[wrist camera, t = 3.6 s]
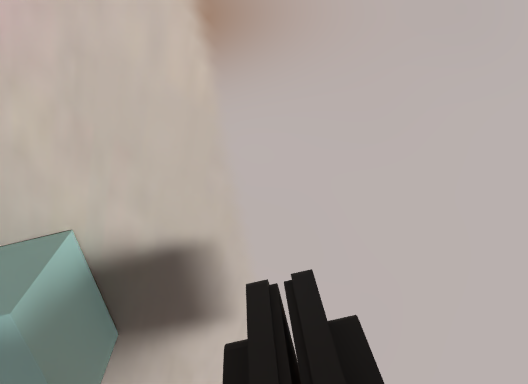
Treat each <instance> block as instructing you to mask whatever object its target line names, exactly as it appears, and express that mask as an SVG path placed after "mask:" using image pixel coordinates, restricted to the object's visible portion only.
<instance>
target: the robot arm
mask: <svg viewBox="0 0 528 384" xmlns="http://www.w3.org/2000/svg"><path fill="white" fill-rule="evenodd" d="M291 277H292V280H289V281H285V282H284V286H285V291H286V298H287V303H288V309H289V315H290V320H291V326H292V332H293V338H294V343H295V349H296V354H295V350H294V346H293V343H292V339H291V335H290V331H289V327H288V323H287V319H286V315H285V311H284V308H283V304H282V300H281V296H280V292H279V288H278V284H277V283H276V284H272V285H269V282H268V280H263V281H258V282H254V283H250V284H246V302H247V335H248V339H246V340H242V341H237V342H233V343H228V344H226V345H225V347H224V364H223V384H384V382H383V379H382V377H381V374H380V372H379V369H378V367H377V364H376V362H375V359H374V357H373V354H372V352H371V349H370V347H369V344H368V342H367V339H366V337H365V334H364V332H363V329H362V327H361V324H360V322H359V320H358V317H357V316H356V315H354V316H349V317H344V318H340V319H336V320H331V321H327V318H326V315H325V311H324V308H323V305H322V301H321V298H320V294H319V291H318V288H317V285H316V281H315V278H314V274H313V271H312V270H307V271H303V272H298V273H293V274H291ZM296 355H297V358H296ZM297 361H298V362H297Z"/></svg>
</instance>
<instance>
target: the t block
mask: <svg viewBox="0 0 528 384" xmlns="http://www.w3.org/2000/svg"><path fill="white" fill-rule="evenodd" d="M117 337H118V332H117V330H116V328H115V325H114V323H113V321H112V319H111V316H110V314H109V312H108V310H107V307H106V305H105V303H104V301H103V298H102V296H101V294H100V292H99V289H98V287H97V285H96V283H95V280H94V278H93V276H92V273H91V271H90V269H89V267H88V264H87V262H86V260H85V258H84V255H83V253H82V251H81V249H80V246H79V244H78V242H77V240H76V237H75V235H74V233H73V231H72V230H70V231H66V232H62V233H57V234H53V235H49V236H45V237H40V238H36V239H32V240H27V241H23V242H19V243H15V244H10V245H6V246H2V247H0V384H101V381H102V378H103V375H104V373H105V370H106V367H107V364H108V362H109V359H110V356H111V353H112V351H113V348H114V345H115V342H116V340H117Z"/></svg>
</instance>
